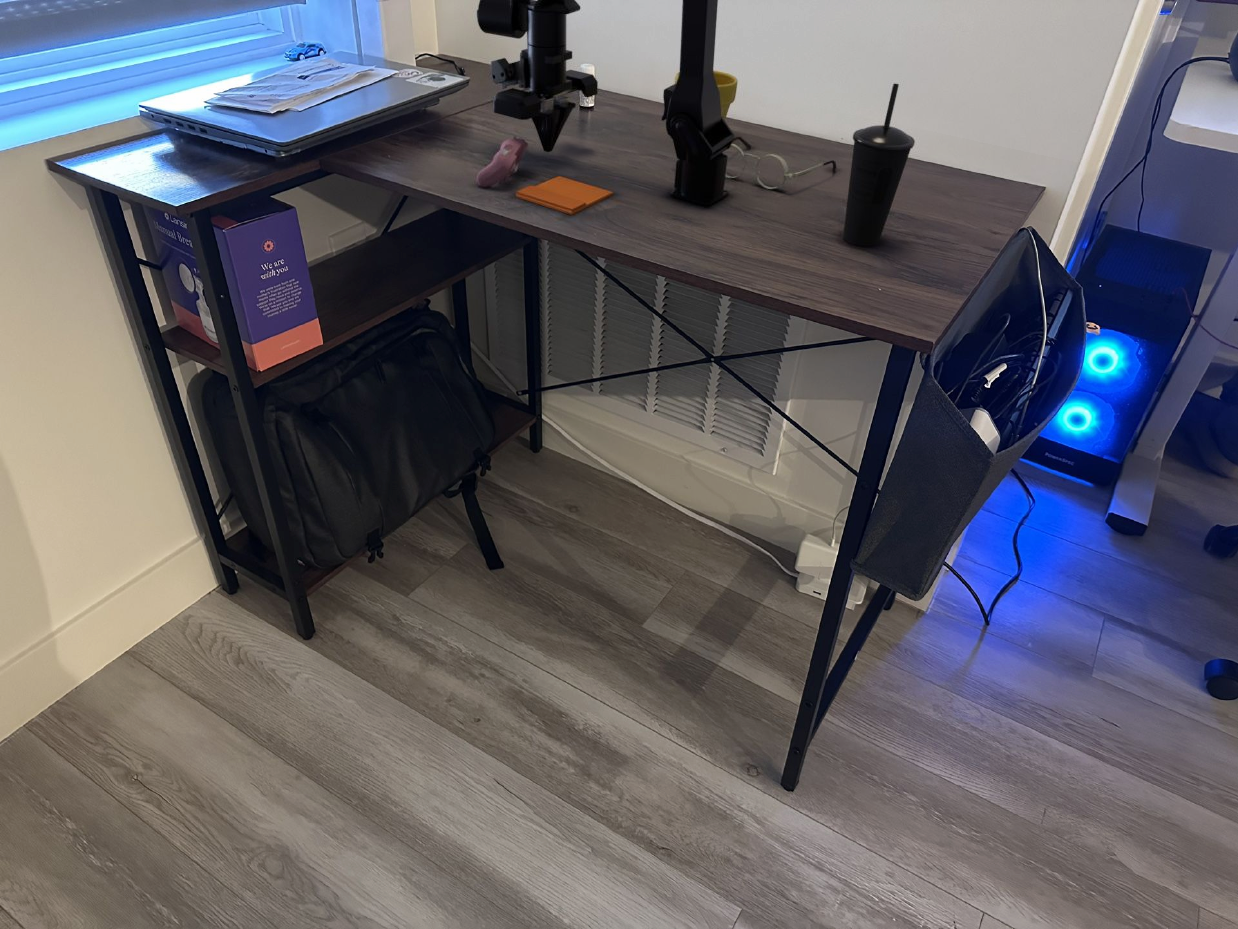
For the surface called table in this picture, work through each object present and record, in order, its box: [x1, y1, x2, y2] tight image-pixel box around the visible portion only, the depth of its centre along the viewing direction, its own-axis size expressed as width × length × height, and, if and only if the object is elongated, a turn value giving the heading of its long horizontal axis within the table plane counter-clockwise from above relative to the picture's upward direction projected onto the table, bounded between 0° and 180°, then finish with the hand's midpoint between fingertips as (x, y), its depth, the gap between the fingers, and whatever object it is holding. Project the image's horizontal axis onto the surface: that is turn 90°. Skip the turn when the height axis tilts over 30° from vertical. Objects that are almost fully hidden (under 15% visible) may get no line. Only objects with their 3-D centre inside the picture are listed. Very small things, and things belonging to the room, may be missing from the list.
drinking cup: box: [842, 83, 916, 248], centre depth 113 cm, size 8×8×20 cm
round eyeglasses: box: [725, 136, 837, 190], centre depth 137 cm, size 17×15×5 cm
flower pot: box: [674, 70, 738, 121], centre depth 148 cm, size 10×10×10 cm
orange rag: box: [515, 175, 614, 216], centre depth 127 cm, size 10×10×1 cm
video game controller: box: [476, 135, 529, 188], centre depth 130 cm, size 10×5×7 cm, turn 170°
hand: (547, 151), depth 137 cm, fingers closed
